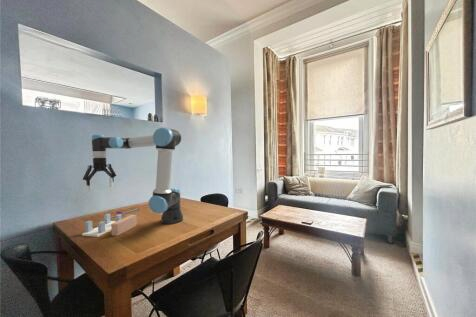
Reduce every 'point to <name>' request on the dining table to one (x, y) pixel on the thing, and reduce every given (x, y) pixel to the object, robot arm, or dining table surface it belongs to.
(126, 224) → the pink rectangular block
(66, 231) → the dining table surface
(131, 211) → the squeegee
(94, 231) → the rack
